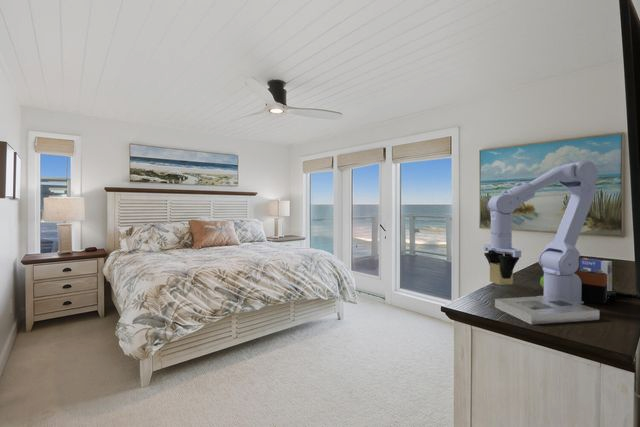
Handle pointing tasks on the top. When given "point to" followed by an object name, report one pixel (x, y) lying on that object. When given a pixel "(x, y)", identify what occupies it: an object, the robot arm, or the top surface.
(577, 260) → the robot arm
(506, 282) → the tan rectangular block
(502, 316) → the top surface
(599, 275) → the battery
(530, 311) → the rail plate
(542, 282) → the snail figurine
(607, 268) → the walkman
